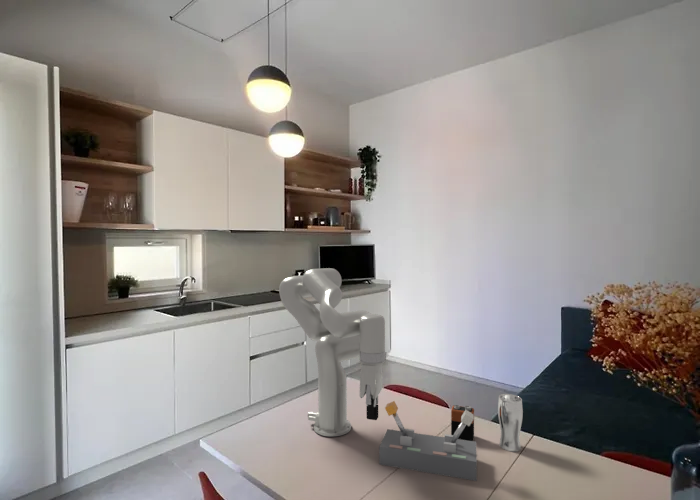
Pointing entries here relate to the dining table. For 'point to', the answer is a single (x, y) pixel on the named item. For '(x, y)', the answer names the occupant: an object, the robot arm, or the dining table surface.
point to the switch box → (429, 454)
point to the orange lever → (395, 416)
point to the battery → (456, 421)
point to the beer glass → (510, 421)
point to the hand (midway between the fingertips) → (372, 418)
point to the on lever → (462, 425)
